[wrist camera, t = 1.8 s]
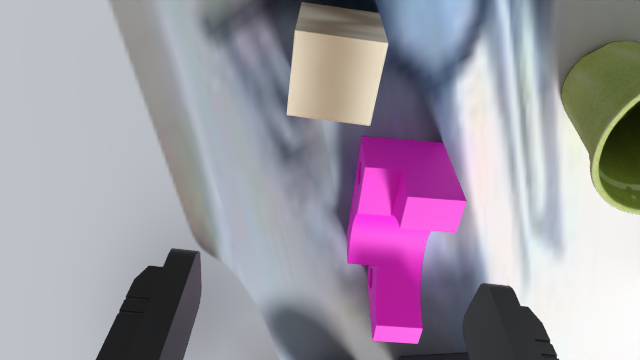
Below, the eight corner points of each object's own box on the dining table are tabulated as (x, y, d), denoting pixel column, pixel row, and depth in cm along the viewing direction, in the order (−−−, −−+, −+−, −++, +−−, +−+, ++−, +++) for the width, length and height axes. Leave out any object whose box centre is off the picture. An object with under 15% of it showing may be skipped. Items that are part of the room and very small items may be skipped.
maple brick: (378, 12, 28) (388, 43, 24) (364, 85, 31) (370, 125, 26) (301, 1, 28) (294, 30, 23) (294, 75, 31) (286, 115, 26)
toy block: (361, 134, 34) (368, 193, 28) (442, 141, 34) (466, 201, 28) (340, 270, 42) (342, 338, 36) (405, 275, 43) (417, 343, 37)
